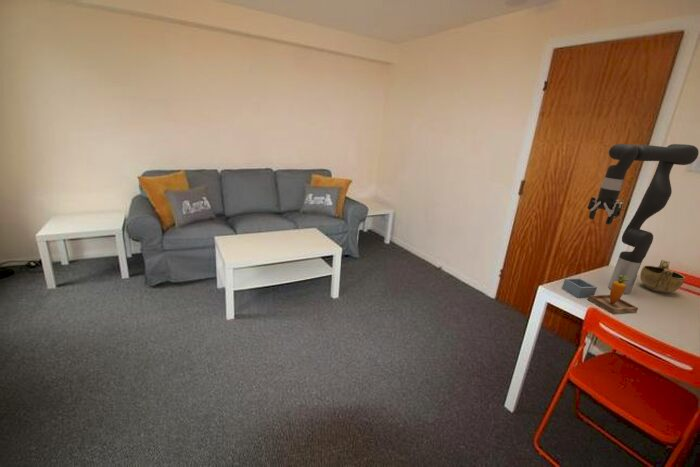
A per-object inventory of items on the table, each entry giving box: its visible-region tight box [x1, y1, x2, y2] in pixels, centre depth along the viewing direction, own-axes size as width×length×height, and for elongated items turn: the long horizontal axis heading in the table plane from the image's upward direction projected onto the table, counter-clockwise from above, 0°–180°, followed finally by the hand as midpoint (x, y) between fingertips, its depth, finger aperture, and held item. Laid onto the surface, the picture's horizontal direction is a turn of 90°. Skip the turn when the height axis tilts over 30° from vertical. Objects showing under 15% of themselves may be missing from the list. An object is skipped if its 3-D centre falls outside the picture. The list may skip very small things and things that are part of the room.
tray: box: [587, 294, 639, 315], centre depth 156 cm, size 14×12×2 cm
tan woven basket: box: [639, 259, 686, 294], centre depth 178 cm, size 22×17×15 cm
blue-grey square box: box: [561, 278, 598, 299], centre depth 166 cm, size 10×10×6 cm
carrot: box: [609, 275, 629, 304], centre depth 154 cm, size 5×5×15 cm
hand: (599, 221), depth 160 cm, fingers open, 8 cm apart
